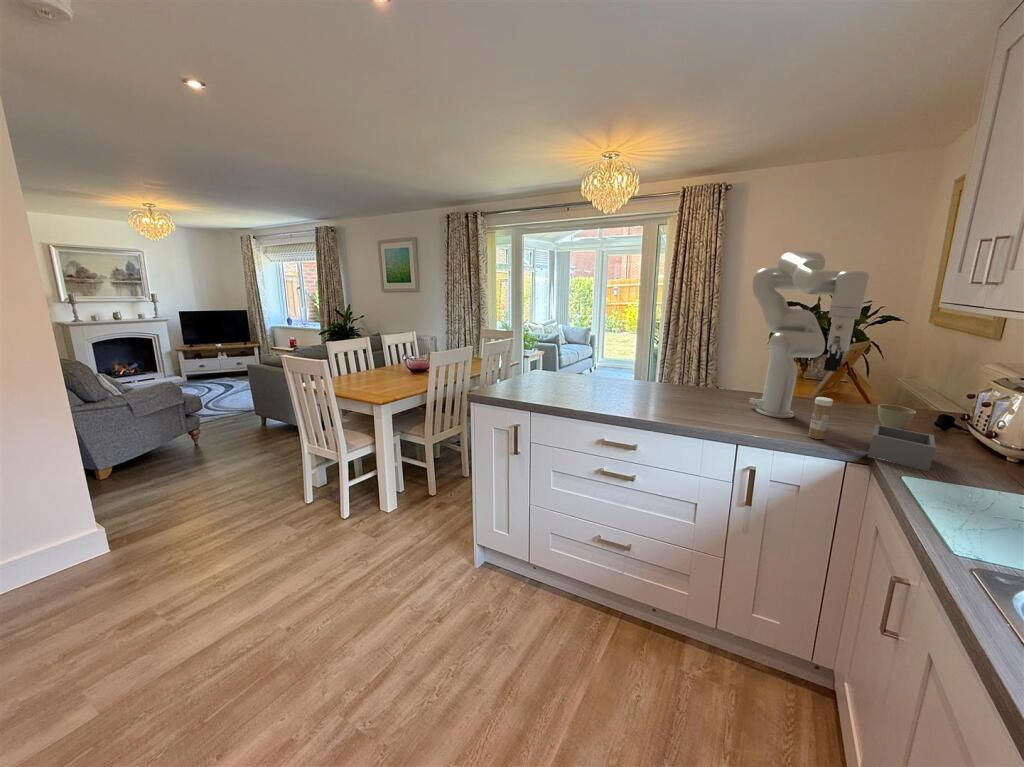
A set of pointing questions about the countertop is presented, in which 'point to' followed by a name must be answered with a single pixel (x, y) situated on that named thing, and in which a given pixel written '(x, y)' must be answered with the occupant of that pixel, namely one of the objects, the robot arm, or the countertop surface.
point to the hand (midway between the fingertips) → (832, 368)
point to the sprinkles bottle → (820, 417)
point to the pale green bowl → (895, 416)
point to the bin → (902, 447)
